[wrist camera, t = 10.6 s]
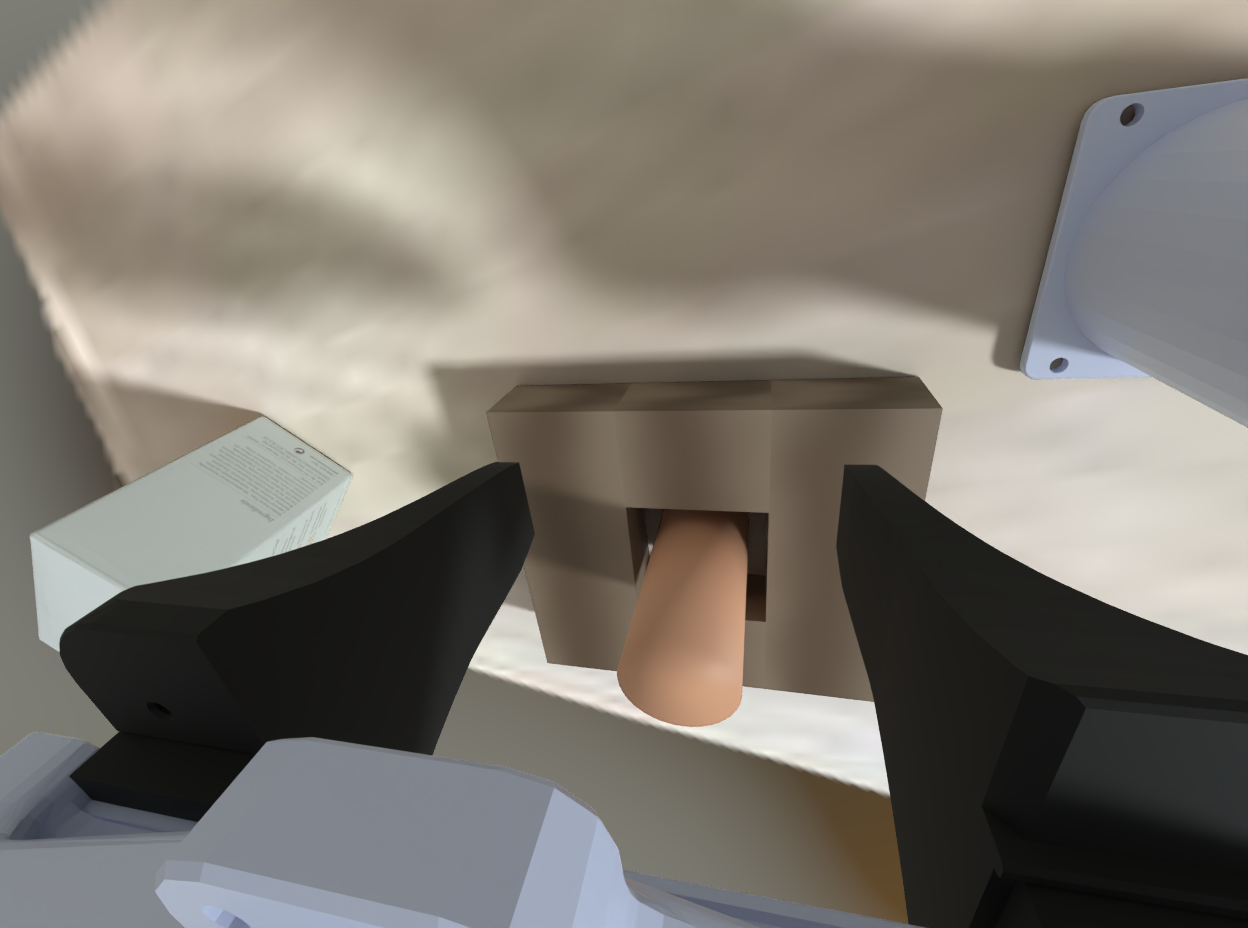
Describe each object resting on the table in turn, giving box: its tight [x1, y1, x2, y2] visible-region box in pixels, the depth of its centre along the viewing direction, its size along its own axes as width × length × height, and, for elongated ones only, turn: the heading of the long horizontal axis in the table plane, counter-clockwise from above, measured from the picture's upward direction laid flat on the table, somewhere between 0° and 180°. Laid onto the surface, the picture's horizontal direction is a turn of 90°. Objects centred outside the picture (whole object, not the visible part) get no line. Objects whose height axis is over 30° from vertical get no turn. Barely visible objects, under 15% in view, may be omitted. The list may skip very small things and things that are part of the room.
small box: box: [30, 416, 352, 652], centre depth 25 cm, size 8×6×10 cm
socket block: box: [486, 377, 943, 702], centre depth 23 cm, size 16×14×3 cm
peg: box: [617, 509, 749, 727], centre depth 21 cm, size 4×4×9 cm
